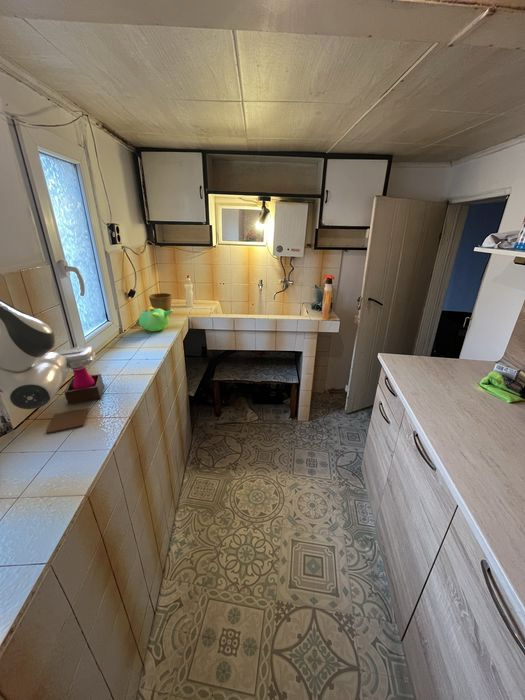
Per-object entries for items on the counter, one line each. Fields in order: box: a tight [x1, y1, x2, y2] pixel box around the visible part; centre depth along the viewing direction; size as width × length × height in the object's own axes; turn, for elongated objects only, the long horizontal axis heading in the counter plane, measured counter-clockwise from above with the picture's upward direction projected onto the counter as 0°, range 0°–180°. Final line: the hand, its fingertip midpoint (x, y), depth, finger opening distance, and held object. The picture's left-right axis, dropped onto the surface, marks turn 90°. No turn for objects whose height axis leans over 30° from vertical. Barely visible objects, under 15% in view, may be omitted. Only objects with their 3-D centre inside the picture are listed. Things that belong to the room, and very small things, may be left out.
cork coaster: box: [46, 407, 89, 435], centre depth 95 cm, size 10×10×1 cm
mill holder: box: [64, 373, 105, 406], centre depth 109 cm, size 11×11×6 cm
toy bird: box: [138, 305, 174, 332], centre depth 173 cm, size 18×17×15 cm
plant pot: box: [148, 292, 173, 318], centre depth 196 cm, size 15×15×16 cm
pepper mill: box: [70, 347, 95, 390], centre depth 106 cm, size 7×7×20 cm
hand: (61, 350), depth 90 cm, fingers open, 8 cm apart
